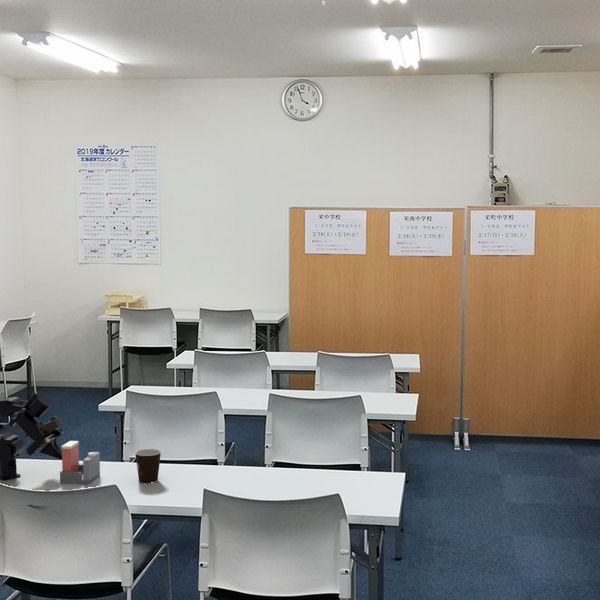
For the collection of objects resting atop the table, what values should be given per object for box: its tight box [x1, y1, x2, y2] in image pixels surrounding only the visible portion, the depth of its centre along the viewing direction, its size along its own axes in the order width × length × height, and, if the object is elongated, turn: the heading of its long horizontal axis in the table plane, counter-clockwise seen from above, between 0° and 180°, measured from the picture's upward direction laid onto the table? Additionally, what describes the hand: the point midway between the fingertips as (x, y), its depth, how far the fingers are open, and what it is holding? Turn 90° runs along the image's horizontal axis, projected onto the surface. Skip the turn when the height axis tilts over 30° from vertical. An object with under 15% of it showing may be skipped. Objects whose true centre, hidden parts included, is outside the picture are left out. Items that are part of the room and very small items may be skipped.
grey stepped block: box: [59, 451, 101, 486], centre depth 265 cm, size 10×10×10 cm
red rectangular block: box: [61, 440, 80, 472], centre depth 265 cm, size 3×7×11 cm, turn 174°
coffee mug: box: [134, 448, 162, 484], centre depth 265 cm, size 12×9×10 cm
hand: (62, 458), depth 265 cm, fingers closed
